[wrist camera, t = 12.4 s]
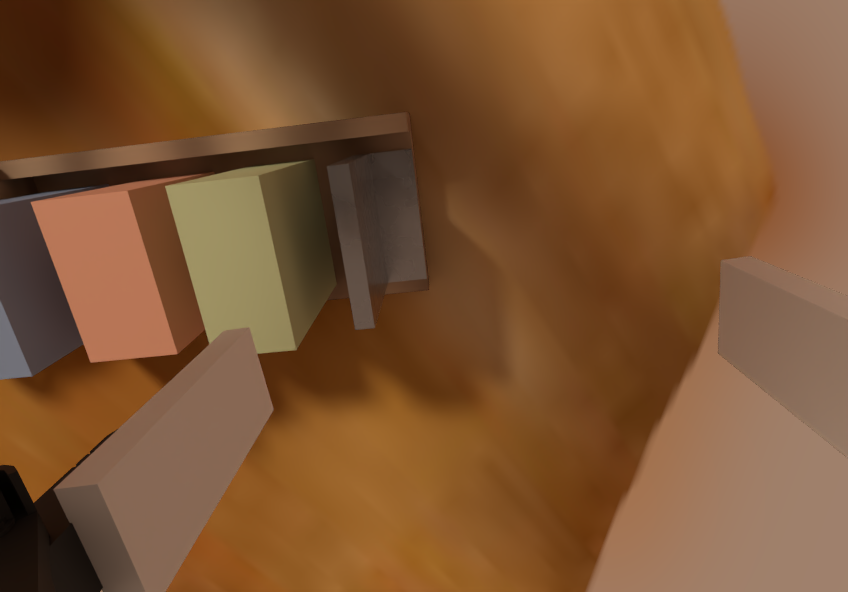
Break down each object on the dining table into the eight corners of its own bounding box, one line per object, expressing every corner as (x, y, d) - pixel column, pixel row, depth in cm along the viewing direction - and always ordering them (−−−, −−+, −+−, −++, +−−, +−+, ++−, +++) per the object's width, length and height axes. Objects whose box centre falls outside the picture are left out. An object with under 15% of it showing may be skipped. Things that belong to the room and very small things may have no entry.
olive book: (277, 290, 33) (213, 358, 23) (249, 166, 30) (164, 186, 21) (336, 284, 32) (296, 351, 23) (314, 158, 30) (258, 175, 20)
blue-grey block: (90, 310, 33) (-46, 384, 24) (47, 191, 31) (-124, 221, 21) (147, 305, 33) (32, 377, 24) (108, 184, 31) (-38, 211, 21)
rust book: (179, 301, 33) (91, 363, 25) (143, 179, 30) (30, 201, 22) (244, 294, 33) (177, 354, 24) (214, 171, 30) (127, 190, 22)
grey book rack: (82, 318, 35) (-106, 422, 23) (23, 160, 32) (-237, 184, 19) (429, 283, 34) (425, 373, 22) (409, 113, 30) (391, 106, 18)
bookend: (373, 281, 32) (355, 329, 25) (354, 155, 30) (326, 166, 22) (427, 275, 32) (424, 323, 24) (412, 148, 29) (404, 156, 22)
